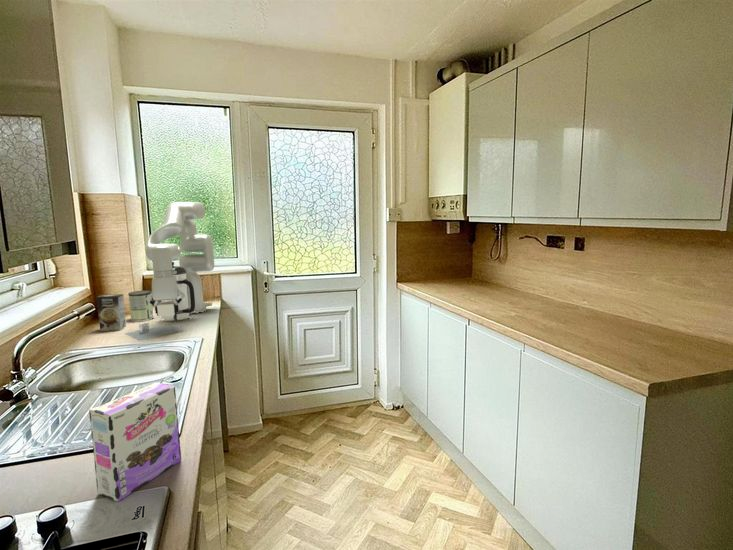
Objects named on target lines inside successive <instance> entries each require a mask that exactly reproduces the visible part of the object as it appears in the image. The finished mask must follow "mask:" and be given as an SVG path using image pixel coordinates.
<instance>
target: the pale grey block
mask: <svg viewBox="0 0 733 550" xmlns="http://www.w3.org/2000/svg"><path fill="white" fill-rule="evenodd" d="M138 329H139V330H138V331H139V332H140V333H141V334H144V333H148V332H149V329H150V325H149V323H148V322H147V323H146V322H144V323H141V324H138Z"/></svg>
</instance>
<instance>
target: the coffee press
mask: <svg viewBox="0 0 733 550" xmlns="http://www.w3.org/2000/svg"><path fill="white" fill-rule="evenodd" d="M172 268H173V270H174V271H177V274H174V275H173V276H175V277H176V280H177V285H178V290H179V291H180V292H182V293H183V294H184V295H185V297H184V298H183V299H182V300H181V302H180V303H179V304H178V309H179V311H178V312H177V314H175V315H173V316H162V317H161V318H160V320H162V319H163V322H165V321H167V322H178V321H182V320H186V319H187V320H190V318H189V316H190V317H191V319H193V316H192V314H190V312H193V311H194V309H195V296H194V288H193V285H192V283H191V282H190V281H187V278H186V273H187V271H186V270H185V269H184V268H183V267H180V265H178V266H177V265H175V262H174V261H172ZM187 285H188V286H189V289H190V300H191V308H190V309H189V306H188V304H189V299H188V293H187V291H188V287H187ZM180 297H181V296H180V295H179V296H178V297H177V300H178V299H179V298H180ZM169 301H173V300H160V302H169Z"/></svg>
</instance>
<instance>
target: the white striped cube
mask: <svg viewBox="0 0 733 550" xmlns="http://www.w3.org/2000/svg"><path fill="white" fill-rule="evenodd" d="M174 305H175V303H174V302H173V301H169V302H161V301H159V303H158V305H157V311H158V316H157V317H158V318H159V317H161V318H163V316H173V315H175V310H174Z"/></svg>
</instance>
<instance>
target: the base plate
mask: <svg viewBox="0 0 733 550" xmlns="http://www.w3.org/2000/svg"><path fill="white" fill-rule="evenodd" d="M184 331H186V330H185V329H182V328H180V327H178V326H175V325H173V324H165V325H160V326H155V327H151V328H150V327H149V332H148V333H144V334H141V333H140V332H139V330H135V331H130V332H126V333H125V335H127V336H128V337H130V338H133V339H135V340H137V341H142V340H143V341H144V340H147V339H151V338H157V337H161V336H165V335H171V334H175V333H179V332H184Z"/></svg>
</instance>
